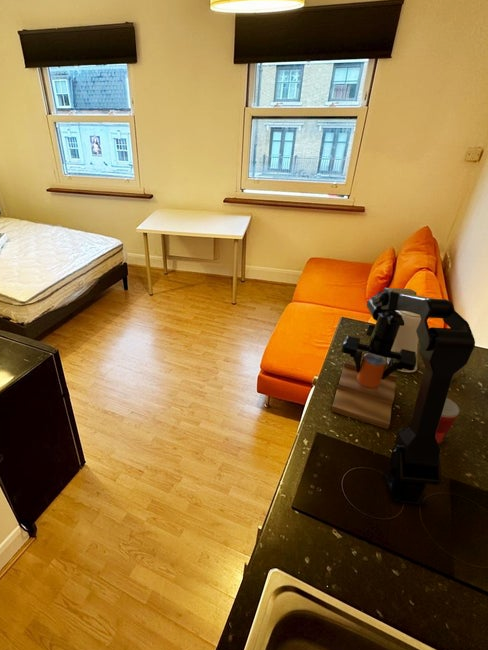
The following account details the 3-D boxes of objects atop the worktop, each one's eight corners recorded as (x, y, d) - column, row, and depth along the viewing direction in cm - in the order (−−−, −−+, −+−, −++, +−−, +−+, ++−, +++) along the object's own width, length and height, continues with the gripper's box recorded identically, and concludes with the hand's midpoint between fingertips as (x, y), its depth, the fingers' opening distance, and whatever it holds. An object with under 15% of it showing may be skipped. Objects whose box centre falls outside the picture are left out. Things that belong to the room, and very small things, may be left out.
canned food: (447, 447, 97) (464, 418, 91) (414, 443, 98) (429, 413, 92) (437, 425, 103) (453, 396, 97) (406, 421, 104) (419, 392, 98)
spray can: (397, 377, 120) (424, 310, 106) (371, 359, 128) (393, 294, 114) (422, 368, 124) (452, 301, 110) (396, 350, 132) (420, 287, 118)
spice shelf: (387, 429, 102) (393, 415, 99) (330, 410, 108) (335, 396, 105) (392, 389, 115) (397, 375, 112) (341, 375, 121) (345, 361, 118)
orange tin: (382, 388, 108) (390, 367, 104) (359, 386, 109) (366, 364, 105) (376, 374, 114) (384, 353, 109) (354, 372, 115) (361, 351, 110)
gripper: (424, 325, 104) (406, 369, 113) (353, 309, 111) (341, 352, 120) (424, 346, 96) (404, 391, 104) (347, 327, 103) (335, 371, 112)
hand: (370, 375), depth 110 cm, fingers closed on orange tin, 6 cm apart
